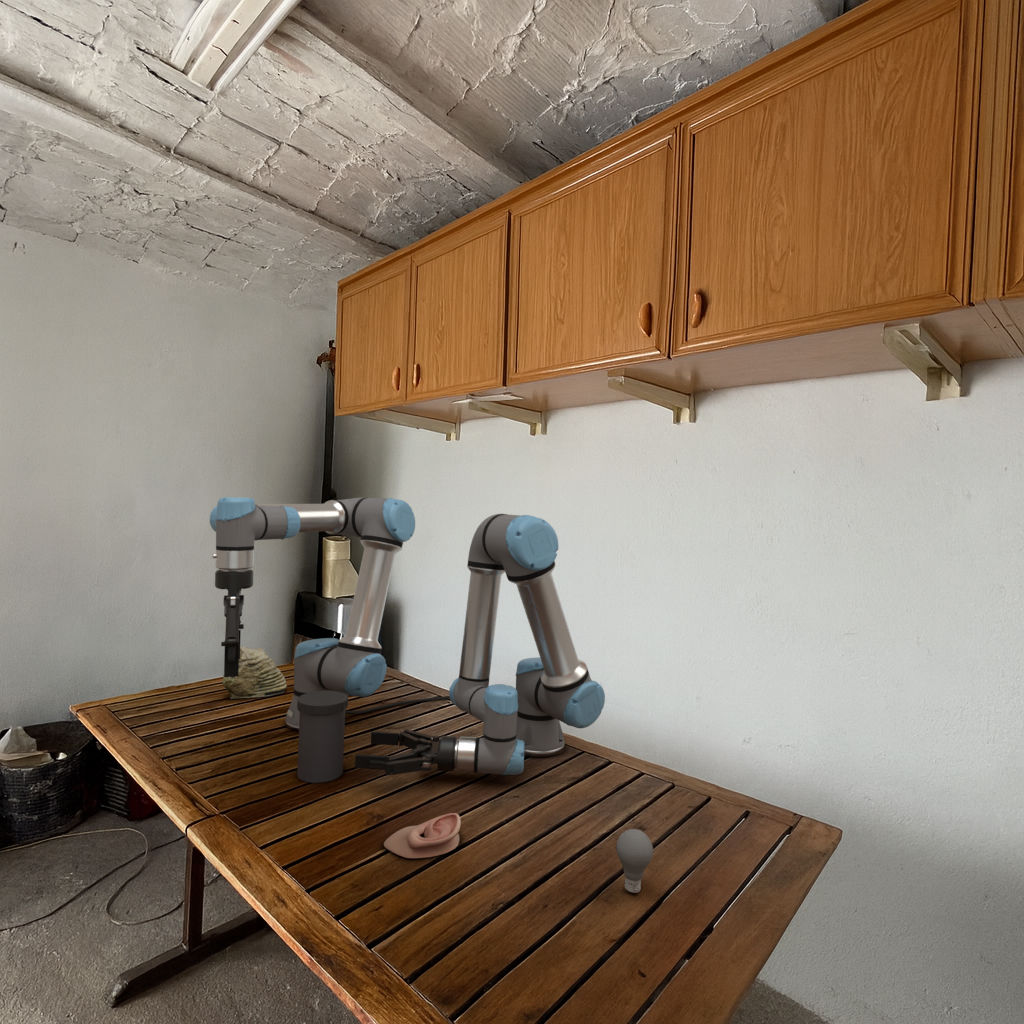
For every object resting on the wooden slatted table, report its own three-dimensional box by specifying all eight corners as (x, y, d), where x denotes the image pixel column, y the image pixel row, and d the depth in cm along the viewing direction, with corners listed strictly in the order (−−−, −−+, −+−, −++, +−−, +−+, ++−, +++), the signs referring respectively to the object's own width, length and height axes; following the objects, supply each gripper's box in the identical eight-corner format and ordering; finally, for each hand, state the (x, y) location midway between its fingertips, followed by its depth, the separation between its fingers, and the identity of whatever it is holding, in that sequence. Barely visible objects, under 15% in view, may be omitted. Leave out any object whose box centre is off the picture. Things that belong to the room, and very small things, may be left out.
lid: (357, 707, 145) (358, 698, 145) (314, 718, 137) (314, 709, 137) (330, 696, 153) (330, 687, 153) (287, 706, 144) (287, 697, 144)
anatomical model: (377, 831, 113) (401, 802, 124) (376, 853, 113) (400, 822, 124) (448, 842, 110) (466, 811, 122) (447, 865, 111) (465, 832, 122)
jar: (351, 773, 146) (354, 700, 145) (312, 787, 138) (315, 710, 138) (327, 760, 152) (329, 690, 152) (288, 772, 145) (291, 699, 144)
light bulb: (610, 879, 108) (613, 822, 108) (644, 879, 109) (647, 822, 109) (619, 902, 102) (622, 840, 102) (655, 901, 103) (658, 840, 103)
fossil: (218, 695, 195) (220, 647, 195) (278, 685, 208) (279, 640, 207) (228, 703, 189) (230, 653, 188) (289, 692, 201) (290, 645, 201)
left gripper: (218, 562, 146) (216, 653, 146) (211, 577, 123) (209, 686, 123) (253, 562, 149) (251, 651, 149) (253, 577, 126) (250, 682, 126)
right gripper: (448, 795, 131) (347, 790, 132) (461, 748, 156) (376, 744, 157) (450, 760, 131) (348, 754, 132) (462, 718, 156) (377, 714, 157)
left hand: (232, 667), depth 136 cm, fingers open, 13 cm apart
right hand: (363, 748), depth 144 cm, fingers open, 13 cm apart
